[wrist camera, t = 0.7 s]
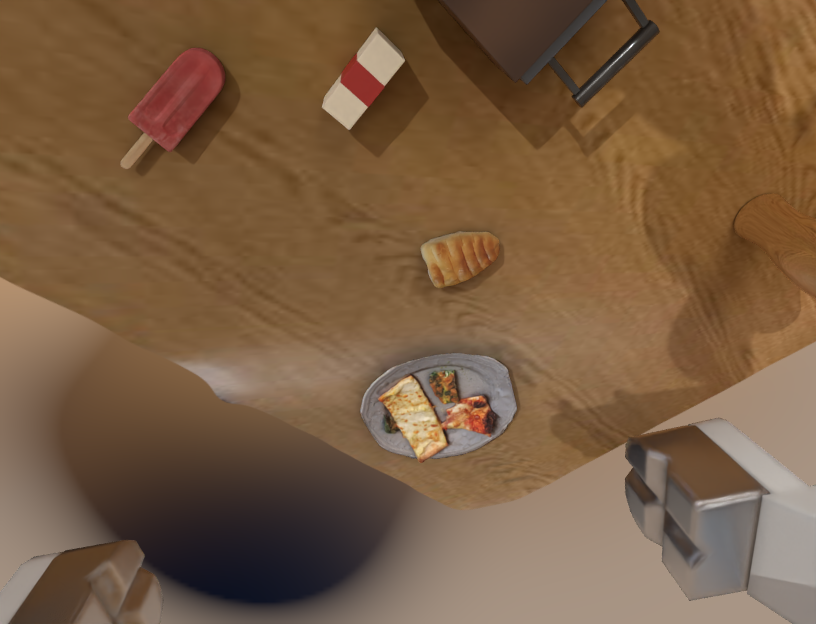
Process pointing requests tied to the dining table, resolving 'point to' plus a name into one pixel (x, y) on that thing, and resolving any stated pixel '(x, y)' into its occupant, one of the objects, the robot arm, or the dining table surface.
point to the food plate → (439, 405)
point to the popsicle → (176, 101)
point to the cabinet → (514, 28)
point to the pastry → (459, 256)
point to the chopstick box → (363, 79)
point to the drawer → (610, 67)
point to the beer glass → (782, 237)
